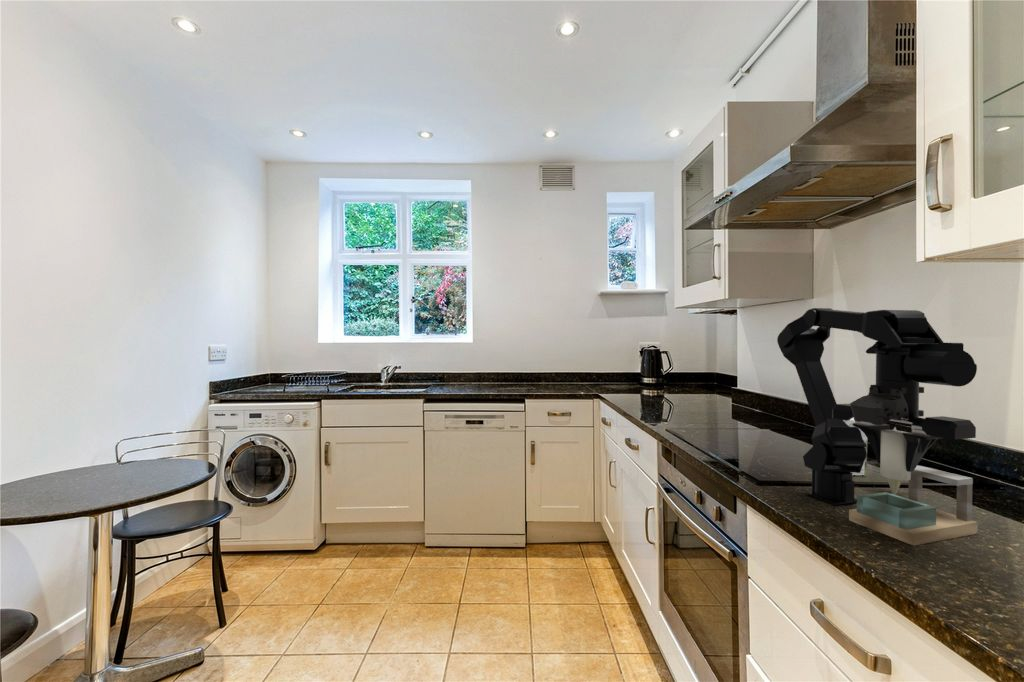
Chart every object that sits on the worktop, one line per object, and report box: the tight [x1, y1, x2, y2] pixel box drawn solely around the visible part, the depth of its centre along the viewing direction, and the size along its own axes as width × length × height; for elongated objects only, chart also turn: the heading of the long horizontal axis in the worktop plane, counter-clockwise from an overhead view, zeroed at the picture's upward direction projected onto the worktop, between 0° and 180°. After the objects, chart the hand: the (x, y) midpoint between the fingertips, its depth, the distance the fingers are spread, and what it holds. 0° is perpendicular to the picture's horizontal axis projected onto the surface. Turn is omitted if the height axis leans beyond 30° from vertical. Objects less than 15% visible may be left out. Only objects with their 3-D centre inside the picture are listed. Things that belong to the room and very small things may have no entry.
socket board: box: [848, 464, 979, 546], centre depth 76 cm, size 10×16×10 cm, turn 107°
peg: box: [879, 429, 911, 482], centre depth 75 cm, size 4×4×8 cm
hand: (895, 467), depth 75 cm, fingers closed on peg, 4 cm apart
